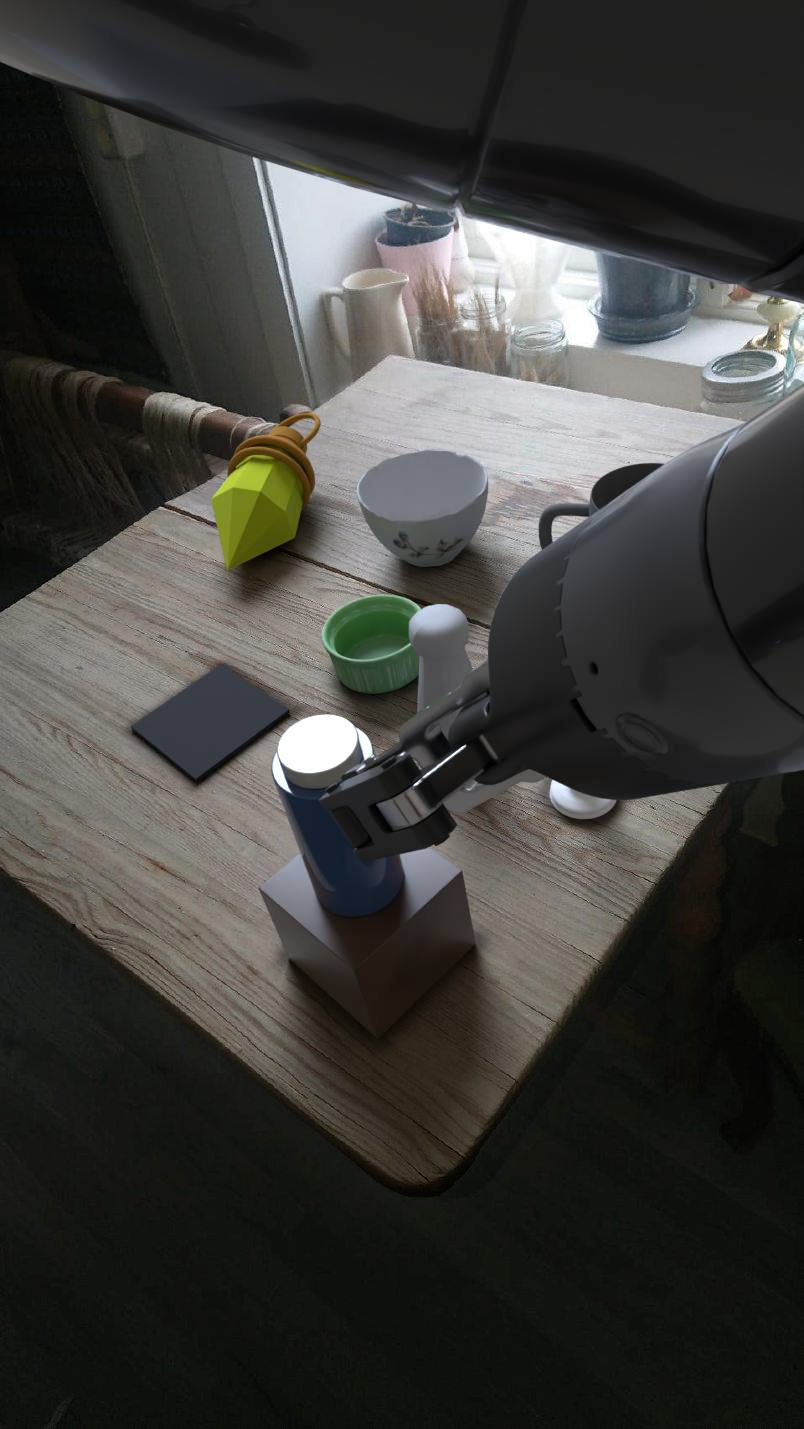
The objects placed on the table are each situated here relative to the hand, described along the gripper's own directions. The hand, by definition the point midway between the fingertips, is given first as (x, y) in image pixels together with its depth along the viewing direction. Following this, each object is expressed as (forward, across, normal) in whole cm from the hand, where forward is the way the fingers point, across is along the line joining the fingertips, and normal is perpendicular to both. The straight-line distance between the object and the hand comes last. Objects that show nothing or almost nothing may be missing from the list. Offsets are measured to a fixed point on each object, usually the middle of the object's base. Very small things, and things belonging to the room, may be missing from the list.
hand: (445, 734), depth 38 cm
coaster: (+48, -4, -8) cm, 49 cm away
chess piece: (+28, -19, +12) cm, 36 cm away
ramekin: (+44, -18, -4) cm, 48 cm away
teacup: (+52, -34, -11) cm, 63 cm away
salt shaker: (+36, -16, +5) cm, 40 cm away
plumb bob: (+63, -26, -23) cm, 72 cm away
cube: (+28, 0, +12) cm, 31 cm away
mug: (+37, -37, +4) cm, 52 cm away
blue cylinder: (+23, 0, +6) cm, 24 cm away
